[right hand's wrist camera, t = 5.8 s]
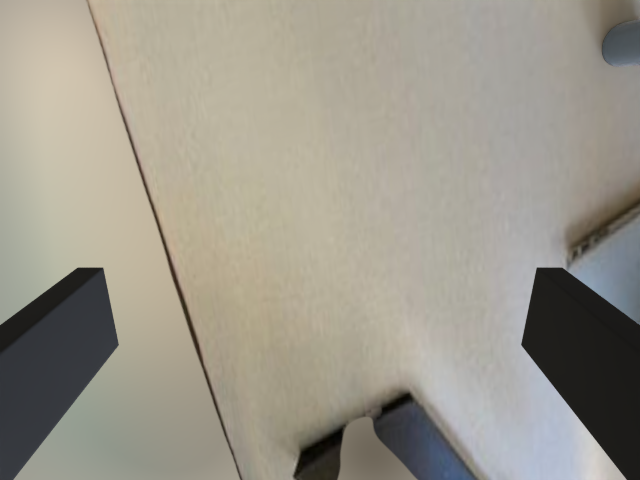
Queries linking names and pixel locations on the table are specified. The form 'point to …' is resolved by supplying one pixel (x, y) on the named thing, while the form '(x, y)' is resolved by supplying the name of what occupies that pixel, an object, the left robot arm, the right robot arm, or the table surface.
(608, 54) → the bottle
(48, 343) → the right robot arm
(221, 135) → the table surface
